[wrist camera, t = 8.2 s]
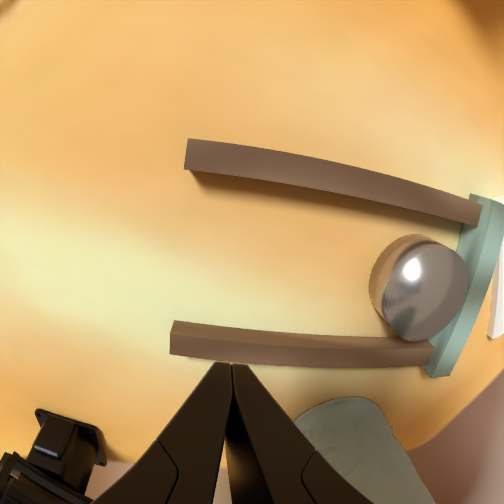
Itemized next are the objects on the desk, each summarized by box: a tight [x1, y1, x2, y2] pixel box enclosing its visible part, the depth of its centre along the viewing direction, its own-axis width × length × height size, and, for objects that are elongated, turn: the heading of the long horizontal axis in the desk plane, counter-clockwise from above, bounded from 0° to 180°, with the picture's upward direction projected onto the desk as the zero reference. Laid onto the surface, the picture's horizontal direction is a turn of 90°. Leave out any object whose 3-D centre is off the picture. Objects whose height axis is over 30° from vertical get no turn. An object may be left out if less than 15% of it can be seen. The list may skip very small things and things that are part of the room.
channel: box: [170, 138, 504, 378], centre depth 17 cm, size 13×20×2 cm, turn 81°
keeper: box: [369, 234, 468, 341], centre depth 17 cm, size 6×6×3 cm
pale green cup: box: [294, 397, 436, 504], centre depth 17 cm, size 10×10×12 cm
